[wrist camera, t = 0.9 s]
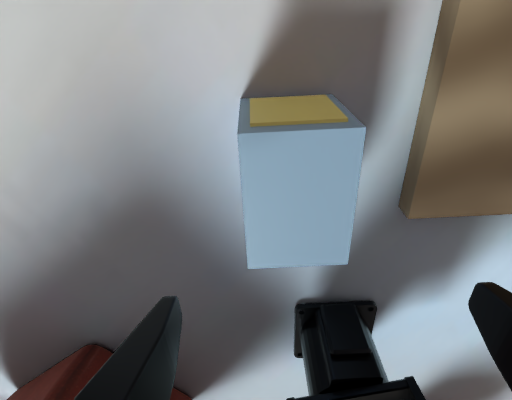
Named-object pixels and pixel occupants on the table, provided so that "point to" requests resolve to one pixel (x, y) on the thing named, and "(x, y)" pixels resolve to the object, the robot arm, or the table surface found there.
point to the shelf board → (464, 117)
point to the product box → (298, 179)
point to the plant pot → (71, 377)
